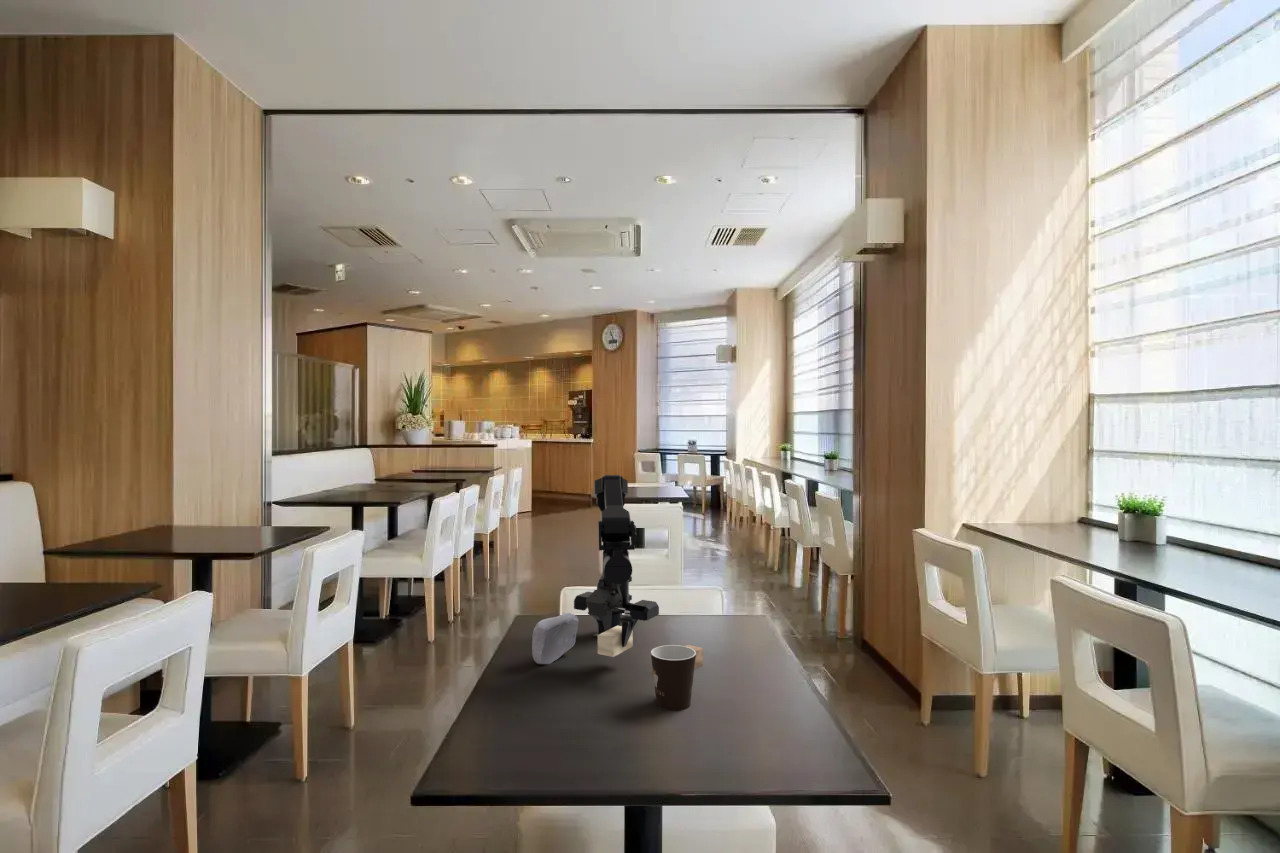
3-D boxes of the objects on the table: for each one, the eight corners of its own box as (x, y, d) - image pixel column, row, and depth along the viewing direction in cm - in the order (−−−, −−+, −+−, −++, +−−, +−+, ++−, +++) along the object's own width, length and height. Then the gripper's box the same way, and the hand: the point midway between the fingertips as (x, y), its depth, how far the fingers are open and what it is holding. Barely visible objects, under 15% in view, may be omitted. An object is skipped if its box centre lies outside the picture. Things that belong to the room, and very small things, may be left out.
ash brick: (617, 643, 154) (617, 625, 154) (632, 646, 152) (632, 628, 152) (597, 653, 147) (597, 635, 147) (613, 657, 145) (613, 638, 145)
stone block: (544, 671, 148) (544, 625, 148) (529, 666, 151) (529, 621, 151) (581, 656, 158) (581, 613, 158) (566, 652, 161) (566, 609, 160)
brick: (687, 662, 155) (687, 644, 155) (702, 666, 152) (702, 648, 152) (667, 672, 148) (667, 654, 148) (683, 677, 146) (683, 658, 146)
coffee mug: (693, 716, 126) (693, 661, 126) (646, 712, 128) (646, 658, 128) (700, 691, 137) (700, 641, 137) (657, 688, 139) (657, 639, 139)
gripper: (558, 575, 147) (558, 648, 147) (634, 586, 138) (633, 663, 138) (588, 566, 157) (587, 634, 157) (660, 575, 147) (660, 648, 148)
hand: (615, 644), depth 150 cm, fingers closed on ash brick, 4 cm apart
